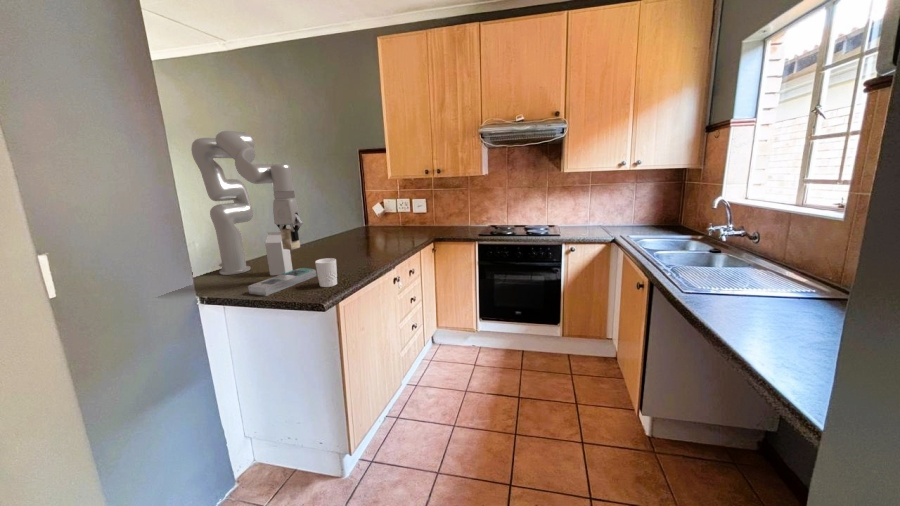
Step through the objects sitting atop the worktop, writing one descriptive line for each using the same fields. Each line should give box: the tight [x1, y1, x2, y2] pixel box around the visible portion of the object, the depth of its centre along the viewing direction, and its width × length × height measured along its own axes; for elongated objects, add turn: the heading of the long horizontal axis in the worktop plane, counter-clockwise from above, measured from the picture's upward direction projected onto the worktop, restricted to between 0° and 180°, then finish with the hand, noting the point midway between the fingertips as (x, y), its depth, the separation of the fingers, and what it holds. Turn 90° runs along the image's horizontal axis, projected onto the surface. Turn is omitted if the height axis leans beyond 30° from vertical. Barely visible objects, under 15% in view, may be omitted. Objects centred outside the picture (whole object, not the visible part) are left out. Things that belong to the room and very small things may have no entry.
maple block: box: [280, 227, 301, 251], centre depth 149 cm, size 5×5×8 cm
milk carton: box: [264, 231, 294, 276], centre depth 162 cm, size 7×7×19 cm
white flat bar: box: [247, 267, 318, 297], centre depth 147 cm, size 26×9×3 cm, turn 157°
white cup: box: [314, 257, 338, 288], centre depth 144 cm, size 8×8×10 cm
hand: (290, 240), depth 149 cm, fingers closed on maple block, 4 cm apart
